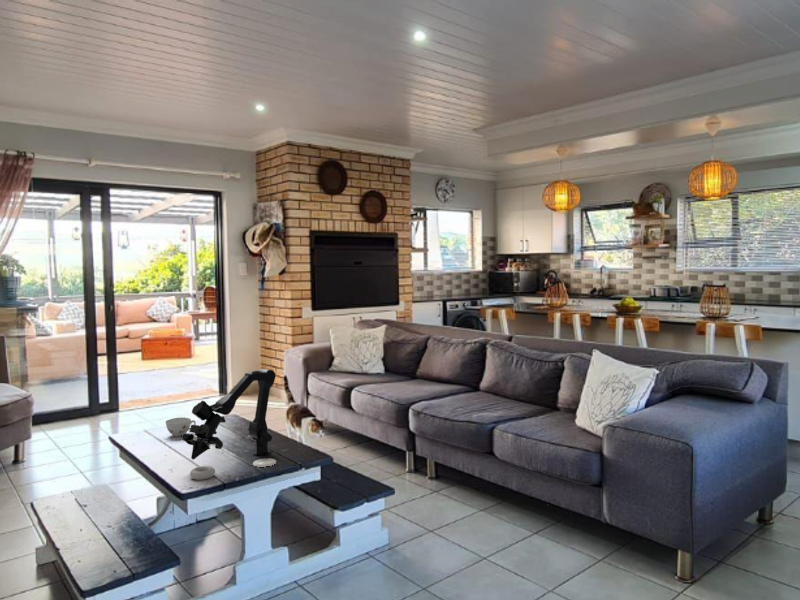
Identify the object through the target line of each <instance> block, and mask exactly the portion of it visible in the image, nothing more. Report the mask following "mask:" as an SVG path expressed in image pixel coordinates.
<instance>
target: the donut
mask: <svg viewBox="0 0 800 600" xmlns="http://www.w3.org/2000/svg"><path fill="white" fill-rule="evenodd" d="M215 474H216V469H215V468H214V467H212V466H210V465H203V466H197V467H195V468H193V469H191V470H190V473H189V476H190V478H191V479H192V480H196V481H203V480H207V479H211V478H213V476H214V475H215Z"/></svg>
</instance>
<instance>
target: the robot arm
mask: <svg viewBox="0 0 800 600" xmlns="http://www.w3.org/2000/svg"><path fill="white" fill-rule="evenodd" d="M275 380H276V372H275V371H274V370H272V369H267V368H261V369H260V370H254V371H246V372H245V373H244V376H243V377H242V378H241V379H240V380H239V381H238V382H237V383H236V385H234V386H233V388H232V389H231V390H230V391H229V392H228V393H227V394H226V395H224V396H222V397H220V398H219V399H218V400H217V401H216V402H215V403H214V404H213V403H212V404H210V405H209V404H208V403H207V402H206V401H205V400H201V401H200V402H198V403H197V404H196V405H194V406H193V408H192V409H191V413H192V414H193V415H194V416H195V417H197V418H198V419H199V420H201V421H202V422H203V421H204V423H202V424H200V425H199V424H198V425H197V424H196V425H194V424H191V425H190V430H188V431H189V432H186V433H184V434H183V436H181V439H182V440H183V441H184V442H185V443H186V444H188V445H189V446H192V451H191V457H190V458H191V460H195V459H196V458H198V457H199V456H201V455H202V454H204V453H205V452H206V451H208V450H210V449H211V445H214V448H215V449H216V450H221V449H222V448H223V446H224V442H223V440H221V439H220V438H219V437H218V436H215V435H217V433H218V432H217V429H218V427H219V425H220V424H223V423H226V418H225V416H228V415H229V414H230V413H231V412H232V411H233V409H234V408H235V406H236V403H237V401H238V400H239V399H240V397H241V396H242V395H243V393H244V392H245V391H246V390H247V389H248V388H249V387H250V385H251V384H252V383H254V382H255V381H257V384H258V389H259V390H258V395H257V402H256V408H255V414H254V419H253V421H249V423H248V429H247V430H248V434H249V435H250V436H251V438H252V440H253V441H255V452H253V456H267V455H269V454H270V453H271V452H272V449H269V448H270V447H269V442H271V441H272V440H273V436H272V434H270V432H268V425H267V421H266V418H267V411H268V403H269V399H270V398H269V397H270V390H271V388H272V386H273V385H274V383H275ZM220 414H221V415H222V416H221V415H220ZM193 433H194V434H193ZM268 453H269V454H268Z"/></svg>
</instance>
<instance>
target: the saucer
mask: <svg viewBox="0 0 800 600" xmlns="http://www.w3.org/2000/svg"><path fill="white" fill-rule="evenodd" d="M274 464H275V465H277V460H276V459H275V458H270V457H269V458H260V459H256V460H254V461H253V463H252V466H253V465H254V466H253V467H255V466H257V467H256V468H259V467H264V468H267V467H266V466H270V467H273V466H275V465H274ZM272 465H273V466H272Z"/></svg>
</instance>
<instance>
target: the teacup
mask: <svg viewBox="0 0 800 600" xmlns="http://www.w3.org/2000/svg"><path fill="white" fill-rule="evenodd" d="M192 423H193V425H197V423H196V420H195V419H194V420H193V419H191V418H189V417H185V416H184V417H180V416H179V417H173V418H170V419H167V420H165V425H166V429H167V432H169V434H171V435H172V436H173V437H175V436H178V437H182V436H181V435H183V434H184V433H188V431H190V428H191V425H192Z"/></svg>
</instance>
